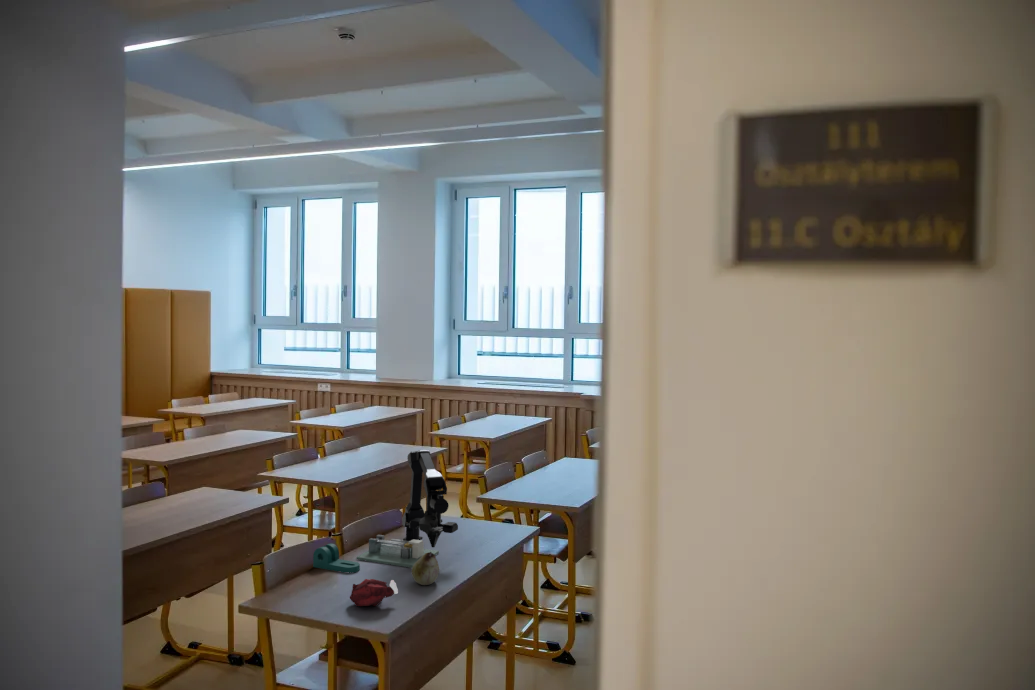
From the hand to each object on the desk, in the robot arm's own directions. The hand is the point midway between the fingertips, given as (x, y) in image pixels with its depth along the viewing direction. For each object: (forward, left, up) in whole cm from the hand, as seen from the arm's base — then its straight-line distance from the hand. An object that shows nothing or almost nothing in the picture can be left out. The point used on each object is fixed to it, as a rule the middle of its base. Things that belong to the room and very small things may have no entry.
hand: (433, 547), depth 287 cm
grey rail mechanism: (0, -18, -5) cm, 18 cm away
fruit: (+23, +8, -6) cm, 25 cm away
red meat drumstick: (+48, +2, -6) cm, 49 cm away
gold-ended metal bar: (0, -17, -2) cm, 17 cm away
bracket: (+21, -30, -6) cm, 37 cm away
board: (0, -16, -6) cm, 17 cm away
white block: (0, -8, -5) cm, 9 cm away
